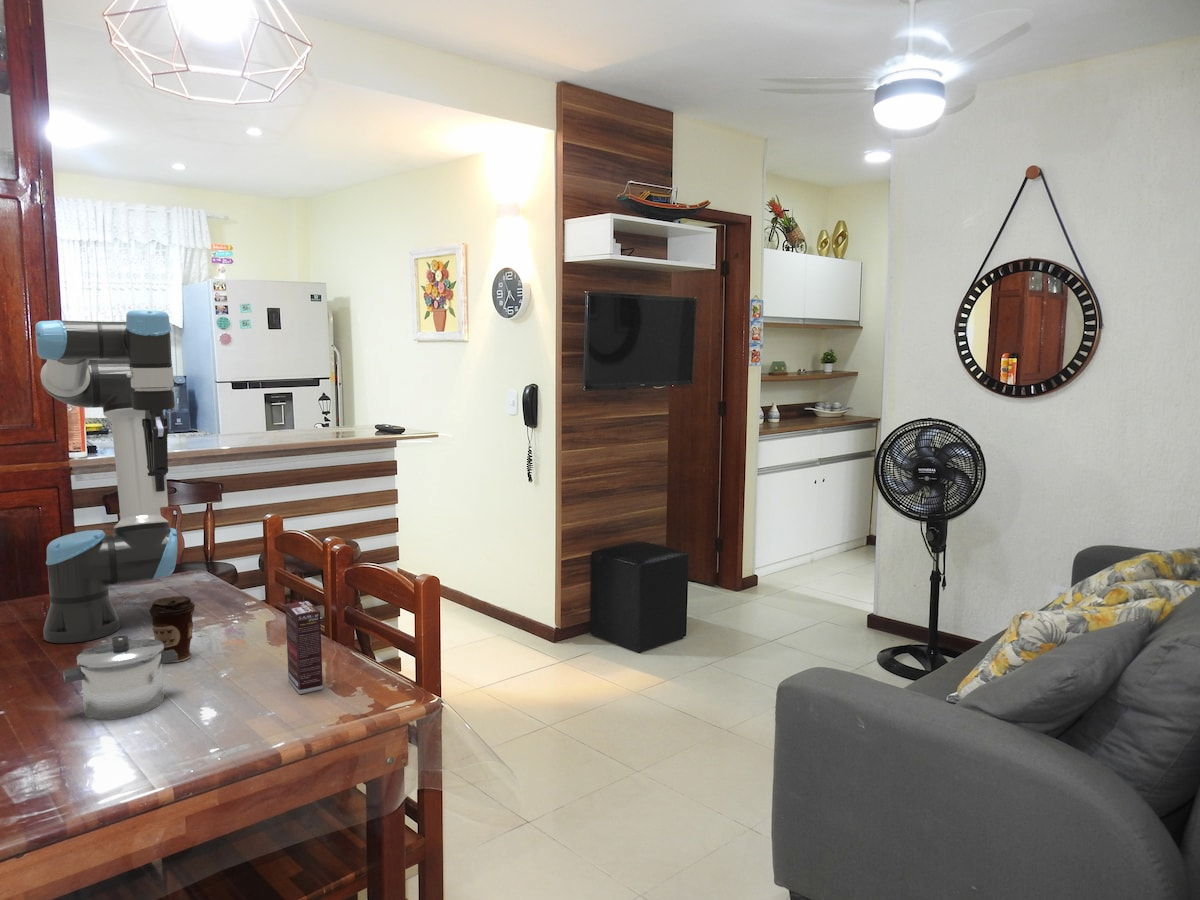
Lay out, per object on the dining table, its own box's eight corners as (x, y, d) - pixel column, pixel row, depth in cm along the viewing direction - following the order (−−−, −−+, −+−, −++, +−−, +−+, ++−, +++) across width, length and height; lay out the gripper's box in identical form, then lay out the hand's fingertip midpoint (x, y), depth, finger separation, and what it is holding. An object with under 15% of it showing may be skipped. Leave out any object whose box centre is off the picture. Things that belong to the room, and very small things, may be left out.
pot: (63, 702, 157) (59, 656, 156) (170, 679, 168) (167, 636, 167) (71, 730, 146) (67, 680, 145) (185, 703, 157) (182, 657, 156)
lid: (72, 654, 158) (71, 636, 157) (155, 638, 166) (154, 621, 166) (81, 674, 146) (79, 654, 145) (170, 656, 154) (168, 638, 154)
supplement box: (324, 689, 163) (321, 610, 162) (299, 695, 161) (295, 615, 159) (312, 675, 171) (308, 599, 169) (287, 680, 168) (284, 603, 166)
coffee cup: (177, 667, 175) (173, 607, 173) (142, 664, 176) (138, 604, 175) (205, 652, 183) (201, 595, 181) (171, 650, 185) (168, 592, 183)
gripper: (126, 388, 169) (133, 504, 172) (136, 391, 158) (144, 514, 161) (167, 387, 173) (174, 500, 176) (179, 390, 163) (187, 509, 166)
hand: (160, 506), depth 169 cm, fingers closed
